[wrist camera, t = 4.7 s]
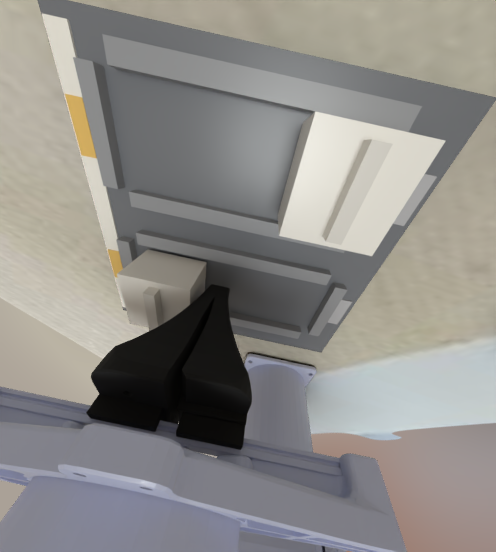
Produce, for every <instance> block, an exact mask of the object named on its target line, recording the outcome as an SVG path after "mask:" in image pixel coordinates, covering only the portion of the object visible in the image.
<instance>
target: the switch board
mask: <svg viewBox="0 0 496 552" xmlns="http://www.w3.org/2000/svg"><path fill="white" fill-rule="evenodd" d="M38 3H39V7H40V10H41V14H42V18H43V21H44V25H45V29H46V32H47V36H48V39H49V43H50V47H51V50H52V54H53V57H54V61H55V65H56V68H57V72H58V75H59V79H60V83H61V86H62V90H63V94H64V97H65V101H66V104H67V108H68V112H69V115H70V119H71V122H72V126H73V130H74V133H75V137H76V141H77V144H78V148H79V151H80V155H81V159H82V162H83V166H84V169H85V173H86V177H87V180H88V184H89V187H90V191H91V195H92V198H93V202H94V206H95V209H96V213H97V216H98V220H99V224H100V227H101V231H102V234H103V238H104V242H105V245H106V249H107V253H108V256H109V260H110V263H111V267H112V271H113V274H114V278H115V281H116V285H117V289H118V292H119V296H120V300H121V303H122V307H123V310H126V307H125V303H124V299H123V296H122V292H121V288H120V284H119V280H118V277H117V273H119V272H120V271H121V270H122V269H124V268H125V267H126V266H127V265H129V264H130V263H131V262H133V261H134V260H135V259H136V258H138V257H139V256H140V255H141V254H143V253H144V252H145V251H146V250H153V251H157V252H162V253H167V254H171V255H176V256H180V257H185V258H190V259H194V260H199V261H203V262H207V264H206V279H205V290H206V289H207V288H208V287H209V286H210V285H211V284H214V285H218V286H223V287H228V288H229V289H230V292H229V298H228V304H229V315H230V322H231V327H232V331H233V334H238V335H243V336H247V337H252V338H257V339H261V340H266V341H270V342H275V343H280V344H284V345H289V346H294V347H298V348H303V349H308V350H312V351H317V352H322V350H323V349H324V347H325V346H326V345H327V343H328V342H329V340H330V339H331V337H332V336H333V334H334V333H335V332H336V330H337V329H338V327H339V326H340V324H341V323H342V321H343V320H344V319H345V317H346V316H347V314H348V313H349V311H350V310H351V308H352V307H353V306H354V304H355V303H356V301H357V300H358V298H359V297H360V295H361V294H362V293H363V291H364V290H365V288H366V287H367V285H368V284H369V282H370V281H371V280H372V278H373V277H374V275H375V274H376V272H377V271H378V269H379V268H380V267H381V265H382V264H383V262H384V261H385V259H386V258H387V256H388V255H389V254H390V252H391V251H392V249H393V248H394V246H395V245H396V243H397V242H398V241H399V239H400V238H401V236H402V235H403V233H404V232H405V230H406V229H407V228H408V226H409V225H410V223H411V222H412V220H413V219H414V217H415V216H416V215H417V213H418V212H419V210H420V209H421V207H422V206H423V204H424V203H425V202H426V200H427V199H428V197H429V196H430V194H431V193H432V191H433V190H434V189H435V187H436V186H437V184H438V183H439V181H440V180H441V178H442V177H443V176H444V174H445V173H446V171H447V170H448V168H449V167H450V165H451V164H452V163H453V161H454V160H455V158H456V157H457V155H458V154H459V152H460V151H461V150H462V148H463V147H464V145H465V144H466V142H467V141H468V139H469V138H470V137H471V135H472V134H473V132H474V131H475V129H476V128H477V126H478V125H479V124H480V122H481V121H482V119H483V118H484V116H485V115H486V113H487V112H488V111H489V109H490V108H491V106H492V105H493V103H494V102H495V100H496V97H492V96H487V95H483V94H478V93H474V92H469V91H465V90H461V89H456V88H452V87H447V86H443V85H439V84H434V83H430V82H425V81H421V80H417V79H412V78H408V77H403V76H399V75H395V74H390V73H386V72H381V71H377V70H373V69H368V68H364V67H359V66H355V65H351V64H346V63H342V62H337V61H333V60H328V59H324V58H320V57H315V56H311V55H306V54H302V53H298V52H293V51H289V50H284V49H280V48H276V47H271V46H267V45H262V44H258V43H254V42H249V41H245V40H240V39H236V38H232V37H227V36H223V35H218V34H214V33H209V32H205V31H201V30H196V29H192V28H187V27H183V26H179V25H174V24H170V23H165V22H161V21H157V20H152V19H148V18H143V17H139V16H135V15H130V14H126V13H121V12H117V11H113V10H108V9H104V8H99V7H95V6H91V5H86V4H82V3H77V2H73V1H68V0H38ZM315 111H316V112H320V113H325V114H329V115H334V116H338V117H343V118H347V119H351V120H356V121H360V122H365V123H369V124H374V125H378V126H383V127H387V128H392V129H396V130H400V131H405V132H409V133H414V134H418V135H423V136H427V137H432V138H436V139H440V140H445V143H444V144H443V146H442V147H441V149H440V151H439V152H438V154H437V155H436V157H435V158H434V160H433V162H432V163H431V165H430V166H429V168H428V169H427V171H426V173H425V174H424V176H423V177H422V179H421V180H420V182H419V184H418V185H417V187H416V188H415V190H414V191H413V193H412V195H411V196H410V198H409V199H408V201H407V202H406V204H405V205H404V207H403V209H402V210H401V212H400V213H399V215H398V216H397V218H396V220H395V221H394V223H393V224H392V226H391V227H390V229H389V231H388V232H387V234H386V235H385V237H384V238H383V240H382V242H381V243H380V245H379V246H378V248H377V249H376V251H375V252H374V254H373V256H369V255H364V254H360V253H355V252H350V251H346V250H341V249H337V248H332V247H328V246H323V245H319V244H314V243H309V242H305V241H300V240H296V239H291V238H287V237H282V236H279V228H278V212H279V209H280V205H281V201H282V198H283V194H284V190H285V187H286V183H287V179H288V176H289V172H290V168H291V165H292V161H293V157H294V154H295V150H296V146H297V143H298V139H299V135H300V132H301V128H302V124H303V122H304V121H305V120H307V119H308V118H309V117H310V116H311V115H312V114H313V113H314V112H315Z"/></svg>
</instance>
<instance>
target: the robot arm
mask: <svg viewBox="0 0 496 552" xmlns="http://www.w3.org/2000/svg"><path fill="white" fill-rule="evenodd" d="M229 292H230V289H229V288H228V287H223V286H218V285H214V284H211V285H210V286H209V287H208V288H207V289H206V290H205V291H204V292H203V293H202V294H201V295H200V296H199V297H198V298H197V299H196V300H195V301H194V302H193V303H191V304H190V305H189V306H188V307H186V308H185V309H184V310H183V311H181V312H180V313H179V314H177V315H176V316H174V317H173V318H171V319H170V320H168V321H167V322H165V323H163V324H162V325H160V326H158V327H156V328H155V329H153V330H151V331H149V332H147V333H145V334H143V335H141V336H139V337H137V338H134V339H132V340H130V341H127V342H125V343H122V344H120V345H117V346H115V347H114V348H113V349H112V350H111V351H110V352H109V353H108V354H107V355H106V356H105V357H104V359H103V360H102V361H101V362H100V364H99V365H98V366H97V367H96V369H95V370H94V371H93V372H92V375H91V378H92V381H93V383H94V385H95V386H96V388H97V390H98V392H99V395H98V397H97V398H96V400H95V401H94V402H93V404H92V405H91V406H90V405H85V404H80V403H76V402H71V401H66V400H61V399H56V398H52V397H47V396H42V395H37V394H33V393H28V392H24V391H18V390H13V389H9V388H5V387H0V480H3V481H7V482H11V483H16V484H20V485H24V486H26V488H25V489H24V491H23V492H22V493H21V495H20V496H19V497H18V499H17V500H16V501H15V503H14V504H13V505H12V507H11V508H10V510H9V511H8V512H7V514H6V515H5V516H4V518H3V519H2V521H1V522H0V552H346V550H347V551H352V552H407V550H406V547H405V544H404V541H403V538H402V535H401V532H400V529H399V526H398V523H397V520H396V517H395V514H394V511H393V508H392V504H391V502H390V498H389V496H388V492H387V490H386V486H385V483H384V480H383V477H382V474H381V471H380V468H379V465H378V462H377V460H376V459H374V458H370V457H366V456H361V455H356V454H344V455H342V456H341V457H340V458H337V457H332V456H327V455H322V454H317V453H313V448H312V440H311V432H310V425H309V417H308V409H307V401H306V393H305V387H306V386H307V385H308V383H309V382H310V381H311V379H312V378H313V377H314V375H315V374H316V372H317V371H316V368H315V367H312V366H307V365H302V364H298V363H293V362H288V361H284V360H279V359H274V358H270V357H265V356H260V355H256V354H248V355H247V357H246V360H245V364H244V363H243V361H242V358H241V356H240V353H239V351H238V348H237V345H236V342H235V338H234V335H233V331H232V327H231V322H230V315H229V304H228V298H229ZM178 423H179V424H178ZM198 452H200V453H198ZM201 453H204V454H210V455H214V456H218V457H217V458H214V457H211V456H208V455H204V454H201Z"/></svg>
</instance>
